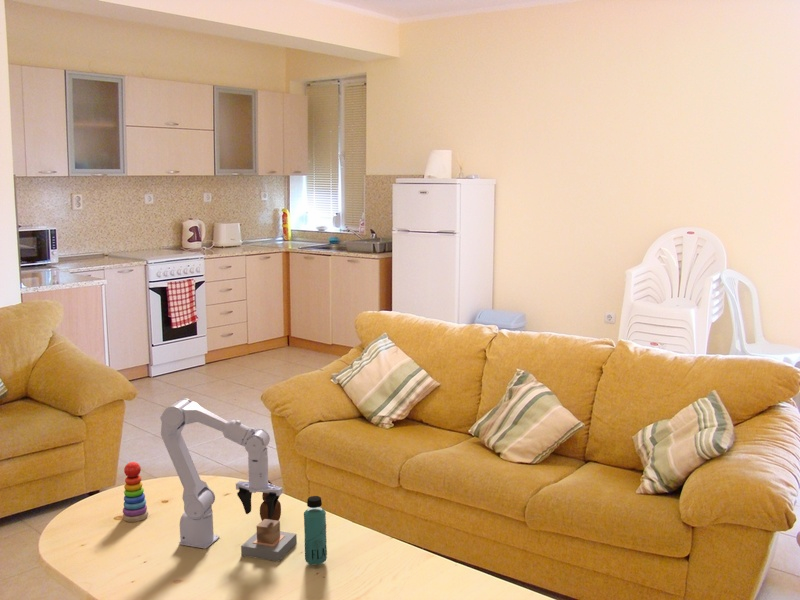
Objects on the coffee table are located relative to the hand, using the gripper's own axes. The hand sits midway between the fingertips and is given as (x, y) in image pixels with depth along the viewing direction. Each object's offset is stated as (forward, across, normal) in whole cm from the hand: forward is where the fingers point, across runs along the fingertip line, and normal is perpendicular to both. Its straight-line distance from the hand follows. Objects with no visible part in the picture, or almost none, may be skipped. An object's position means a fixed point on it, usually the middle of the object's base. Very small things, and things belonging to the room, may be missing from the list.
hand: (259, 514), depth 229 cm
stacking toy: (+10, -48, +4) cm, 49 cm away
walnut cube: (+6, +4, -2) cm, 8 cm away
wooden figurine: (+10, -4, +14) cm, 18 cm away
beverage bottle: (+10, +21, -5) cm, 24 cm away
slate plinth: (+10, +4, -1) cm, 11 cm away
